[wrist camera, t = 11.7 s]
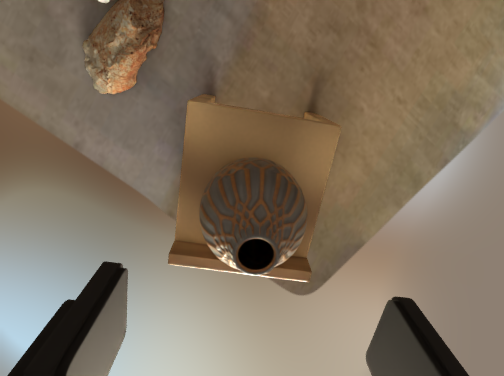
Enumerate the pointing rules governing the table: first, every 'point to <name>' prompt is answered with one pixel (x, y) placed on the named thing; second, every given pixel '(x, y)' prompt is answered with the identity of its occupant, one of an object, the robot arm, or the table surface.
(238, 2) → the table surface
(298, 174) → the shelf
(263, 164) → the vase
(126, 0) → the brown rock
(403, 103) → the table surface
